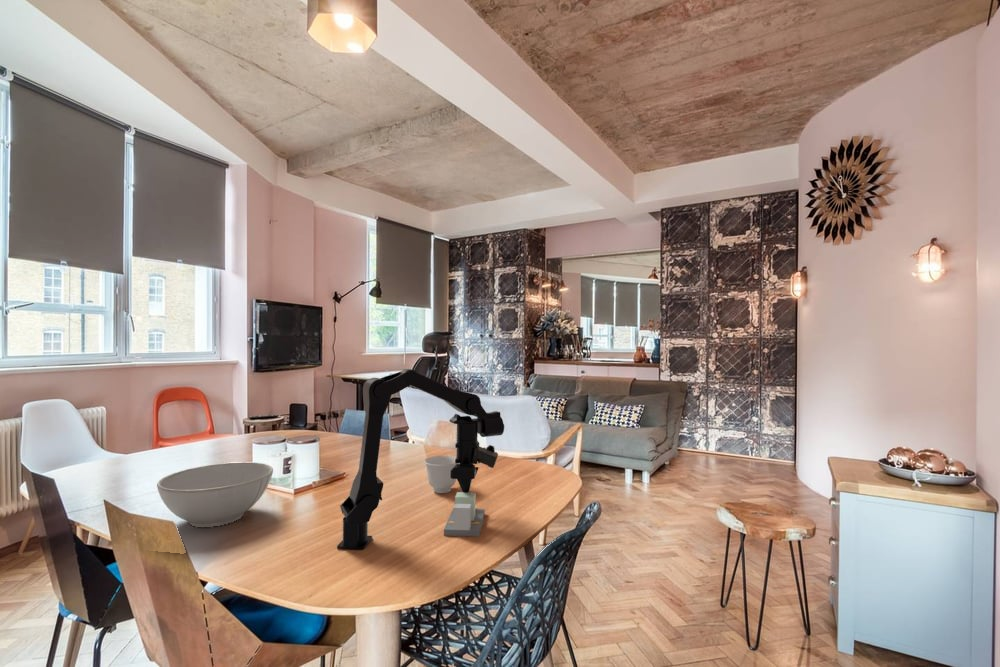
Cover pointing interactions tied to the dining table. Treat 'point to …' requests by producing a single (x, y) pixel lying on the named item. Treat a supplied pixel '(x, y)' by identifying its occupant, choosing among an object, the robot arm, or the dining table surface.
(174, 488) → the decorative bowl
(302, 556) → the dining table surface
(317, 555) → the dining table surface
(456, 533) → the board
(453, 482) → the teacup
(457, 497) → the sleeve
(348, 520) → the robot arm
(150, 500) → the dining table surface
